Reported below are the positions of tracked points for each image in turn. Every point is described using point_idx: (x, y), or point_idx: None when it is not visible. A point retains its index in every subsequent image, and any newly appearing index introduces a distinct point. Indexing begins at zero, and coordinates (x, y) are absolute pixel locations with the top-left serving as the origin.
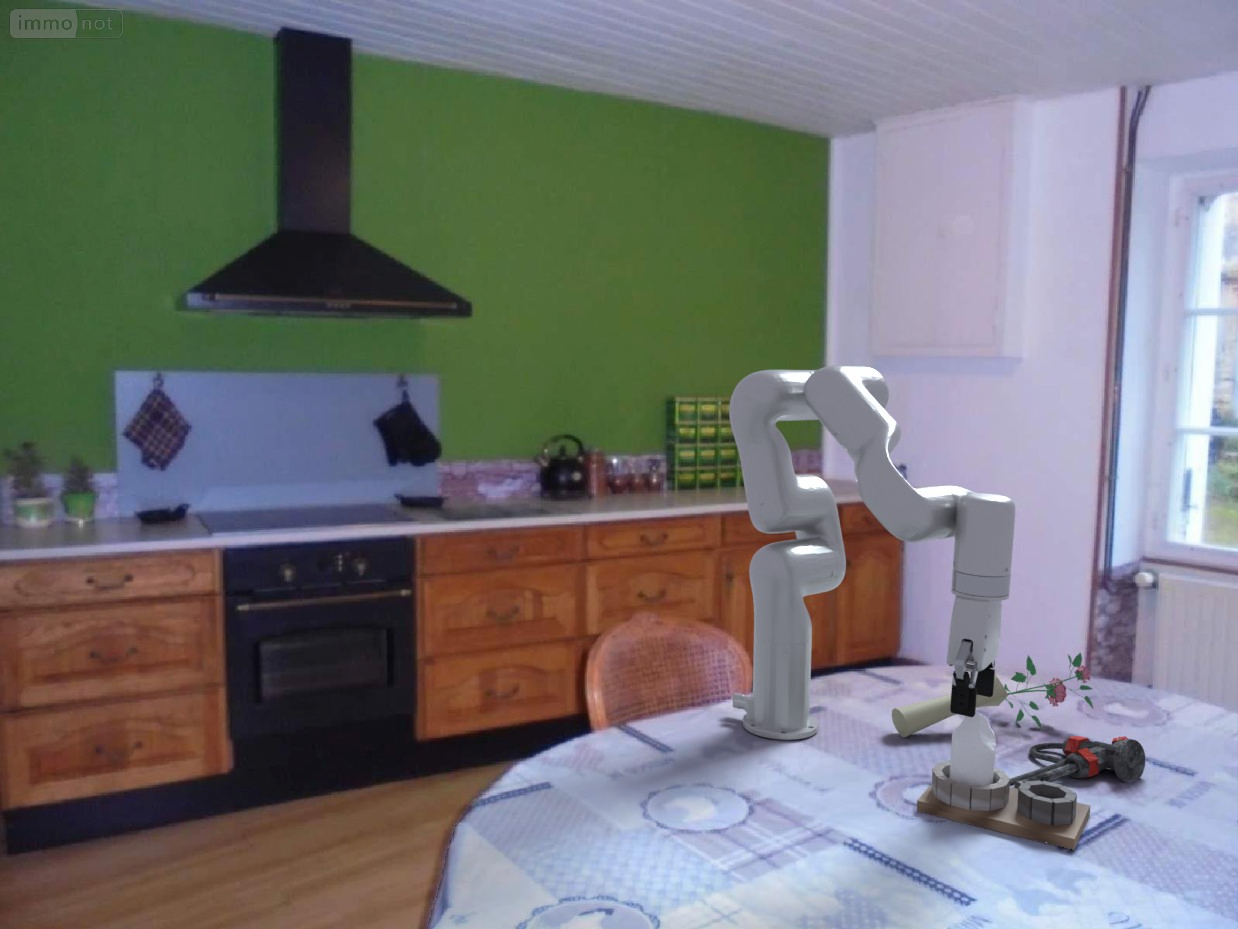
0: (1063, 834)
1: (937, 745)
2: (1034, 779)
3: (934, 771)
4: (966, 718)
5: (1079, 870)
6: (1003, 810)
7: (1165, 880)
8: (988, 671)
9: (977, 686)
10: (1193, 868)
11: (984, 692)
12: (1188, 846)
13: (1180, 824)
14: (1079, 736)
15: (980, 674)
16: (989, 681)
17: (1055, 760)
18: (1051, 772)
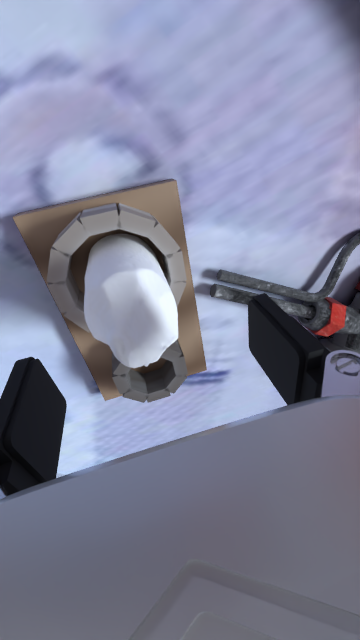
0: (106, 390)
1: (343, 67)
2: (239, 302)
3: (70, 229)
4: (110, 339)
5: (67, 411)
6: None
7: (117, 444)
8: (293, 399)
9: (260, 332)
10: (158, 442)
11: (252, 341)
12: (198, 425)
13: (240, 405)
14: None
15: (283, 367)
16: (272, 376)
17: (327, 284)
18: None
